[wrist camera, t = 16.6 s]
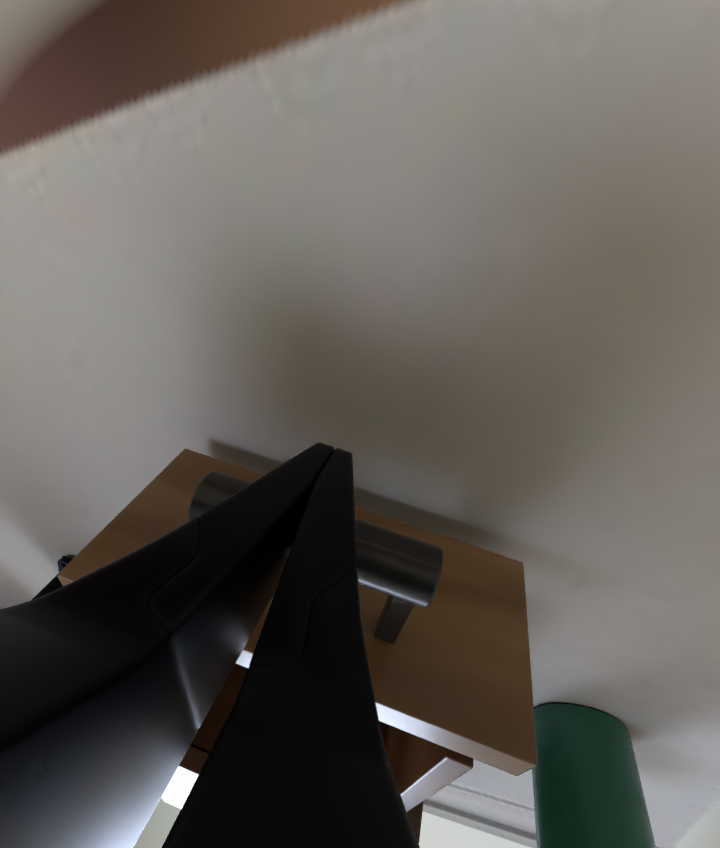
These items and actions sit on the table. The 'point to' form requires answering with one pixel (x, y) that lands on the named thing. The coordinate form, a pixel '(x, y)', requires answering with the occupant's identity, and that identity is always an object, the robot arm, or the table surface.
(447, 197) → the table surface
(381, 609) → the drawer
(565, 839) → the can
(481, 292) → the table surface
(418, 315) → the table surface
